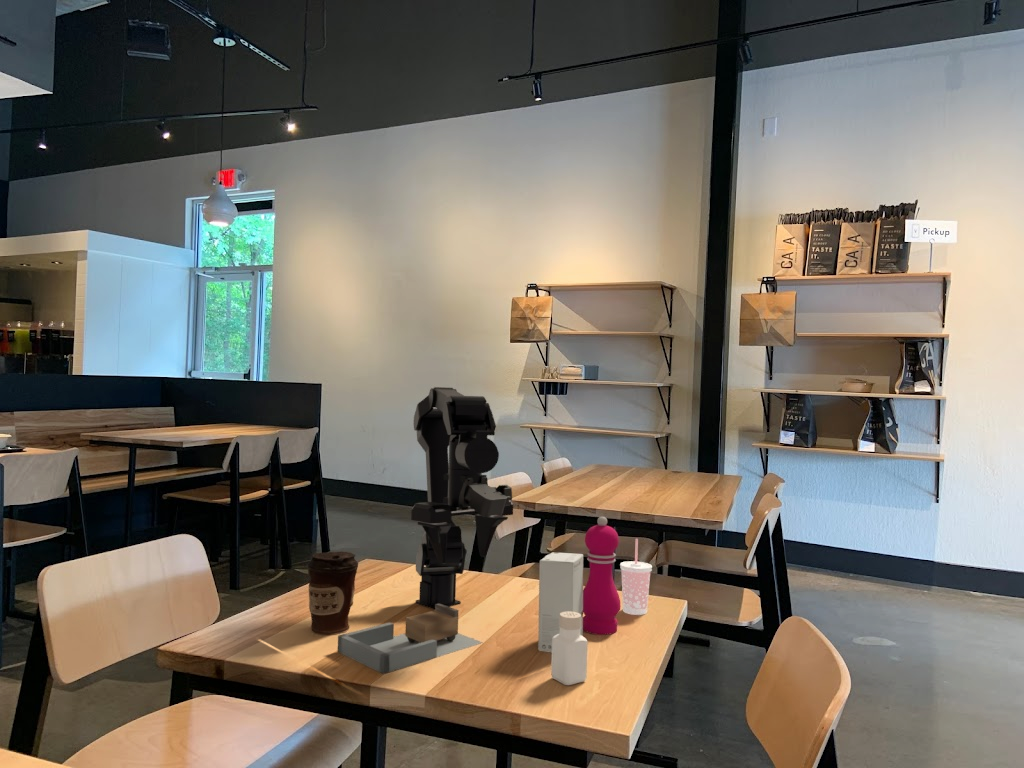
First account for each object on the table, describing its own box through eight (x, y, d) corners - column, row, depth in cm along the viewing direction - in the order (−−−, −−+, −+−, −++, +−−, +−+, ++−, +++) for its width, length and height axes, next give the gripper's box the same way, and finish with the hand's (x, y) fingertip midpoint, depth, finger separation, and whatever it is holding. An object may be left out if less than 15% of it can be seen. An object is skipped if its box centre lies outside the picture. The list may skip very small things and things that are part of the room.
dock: (435, 626, 128) (436, 610, 128) (483, 644, 120) (483, 627, 120) (337, 653, 113) (338, 635, 113) (383, 675, 105) (384, 656, 105)
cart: (437, 632, 124) (438, 603, 124) (457, 640, 120) (458, 610, 120) (404, 642, 119) (405, 611, 119) (425, 650, 115) (426, 618, 115)
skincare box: (572, 657, 115) (575, 563, 115) (535, 652, 117) (538, 559, 117) (583, 640, 123) (585, 552, 123) (548, 636, 125) (551, 549, 125)
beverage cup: (644, 618, 136) (646, 543, 137) (614, 612, 139) (616, 539, 140) (655, 610, 142) (657, 538, 142) (625, 604, 145) (627, 534, 145)
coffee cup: (342, 641, 119) (344, 562, 119) (295, 636, 120) (298, 558, 121) (363, 625, 127) (365, 551, 128) (319, 621, 129) (321, 547, 129)
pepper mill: (623, 625, 131) (626, 515, 132) (615, 638, 125) (618, 521, 125) (584, 620, 134) (587, 512, 134) (574, 632, 127) (577, 517, 127)
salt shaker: (588, 681, 105) (589, 616, 105) (566, 687, 103) (568, 620, 103) (570, 672, 108) (572, 608, 109) (549, 678, 106) (551, 612, 106)
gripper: (453, 474, 113) (451, 575, 112) (536, 469, 126) (534, 560, 125) (410, 469, 121) (408, 564, 120) (492, 465, 134) (490, 551, 133)
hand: (463, 560), depth 124 cm, fingers open, 9 cm apart
